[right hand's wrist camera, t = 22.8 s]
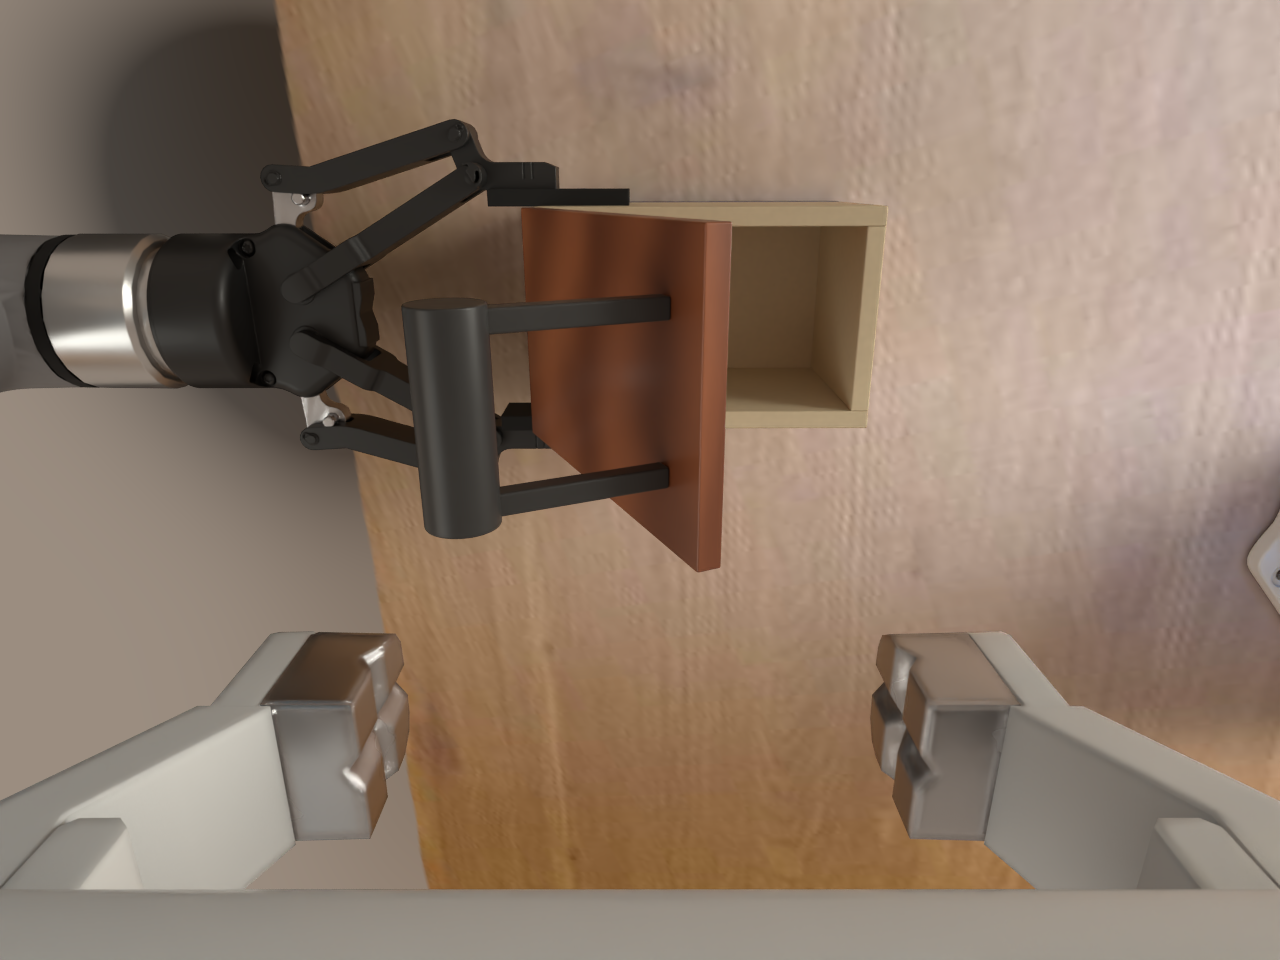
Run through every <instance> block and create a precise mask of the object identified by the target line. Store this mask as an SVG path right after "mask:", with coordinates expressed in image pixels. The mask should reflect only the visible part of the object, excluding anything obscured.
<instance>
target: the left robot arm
mask: <svg viewBox="0 0 1280 960" xmlns="http://www.w3.org/2000/svg"><path fill="white" fill-rule="evenodd" d="M449 156H452V157H453V160H454V162H455V165H456V167H457V169H456V170H455V171H453V172H452V173H450V174H449V175H447V176H446V177H444V178H443V179H441V180H439V181H438V182H436V183H435V184H433V185H432V186H430V187H429V188H427V189H426V190H424V191H423V192H421V193H420V194H418V195H417V196H415V197H414V198H412V199H411V200H409V201H408V202H406V203H405V204H403V205H402V206H400V207H398V208H397V209H395V210H394V211H392V212H391V213H389V214H388V215H386V216H385V217H383V218H382V219H380V220H379V221H377V222H376V223H374V224H373V225H371V226H370V227H368V228H367V229H365V230H364V231H362V232H361V233H359V234H357V235H356V236H354V237H352V238H350V239H348V240H346V241H344V242H343V243H341V244H340V245H338V246H337V247H335V246H334V245H332V244H331V243H329V242H328V241H326V240H325V239H323V238H322V237H320V236H319V235H317V234H316V233H315V232H313V231H312V230H310V229H309V228H307V227H306V226H304V225H303V220H304V217H305V215H306V214H307V213H309V212H311V211H315V210H318V209H319V208H320V207H321V206H322V204H323V194H330V193H338V192H342V191H346V190H349V189H352V188H356V187H359V186H362V185H365V184H368V183H371V182H374V181H377V180H380V179H383V178H386V177H389V176H392V175H395V174H398V173H401V172H404V171H407V170H410V169H413V168H416V167H419V166H422V165H425V164H428V163H431V162H434V161H437V160H440V159H443V158H446V157H449ZM260 178H261V181H262V184H263V185H264V187H265V188H266V189H268V190H269V191H272V196H273V207H274V218H275V225H273V226H271V227H270V228H268V229H267V230H265V231H263V232H261V233H255V234H178V235H175V236H173V237H168V236H166V235H164V234H77V235H61V236H41V235H0V392H4V391H9V390H16V389H27V388H63V387H107V388H181V387H185V386H187V385H190V386H193V387H197V388H280V389H284V390H286V391H289V392H291V393H293V394H295V395H297V396H300V397H301V400H302V405H303V410H304V415H305V419H306V424H307V428H306V429H304V430H303V431H302V432H301V435H300V440H301V442H302V444H303V445H304V446H305V447H306V448H308V449H310V450H323V449H340V448H348V449H351V450H355V451H359V452H362V453H366V454H370V455H373V456H377V457H381V458H384V459H388V460H392V461H396V462H399V463H403V464H407V465H410V466H414V467H418V461H417V451H416V442H415V432H414V427H411V426H407V425H403V424H400V423H396V422H393V421H389V420H385V419H382V418H378V417H375V416H370V415H365V414H351V412H350V410H349V408H348V407H347V406H346V405H344V404H342V403H337V402H334V401H332V400H331V399H330V398H329V397H328V395H327V393H326V390H327V389H329V388H330V387H331V386H333V385H334V384H335V383H336V382H338V381H339V380H340V379H341V378H344V379H345V380H347V381H349V382H351V383H353V384H355V385H357V386H359V387H360V388H363V389H365V390H370V391H375V392H377V393H379V394H381V395H383V396H385V397H387V398H389V399H391V400H392V401H394V402H396V403H398V404H400V405H402V406H404V407H406V408H407V409H409V410H411V411H412V403H411V394H410V384H409V375H408V366H407V365H405V364H403V363H401V362H400V361H398V360H397V358H396V357H395V356H394V355H393V354H391V353H389V352H387V351H386V350H384V349H382V348H380V347H378V346H376V341H378V340H380V338H379V329H378V323H377V321H376V318H375V315H374V313H373V310H372V307H373V300H374V285H373V278H369V277H368V274H367V273H366V271H365V269H366V268H368V267H369V266H371V265H372V264H374V263H376V262H377V261H379V260H380V259H382V258H383V257H384V256H386V254H388V253H389V252H391V251H392V250H394V249H395V248H397V247H398V246H400V245H402V244H403V243H405V242H406V241H408V240H409V239H411V238H412V237H414V236H415V235H417V234H419V233H420V232H422V231H423V230H425V229H426V228H428V227H429V226H431V225H432V224H434V223H435V222H437V221H439V220H440V219H442V218H443V217H445V216H446V215H448V214H449V213H451V212H452V211H454V210H456V209H457V208H459V207H460V206H462V205H463V204H465V203H466V202H468V201H469V200H471V199H473V198H474V197H476V196H477V195H479V194H480V193H482V192H483V191H485V190H487V198H488V206H629V204H630V200H629V189H559V167H556V166H554V165H551V164H549V163H546V162H492V161H491V160H489V159H488V158H487V157H486V156H485V154H484V152H483V150H482V148H481V145H480V143H479V140H478V135H477V132H476V130H475V128H474V127H473V126H472V125H470V124H467V123H465V122H462V121H459V120H456V119H452V120H447V121H444V122H441V123H438V124H435V125H433V126H430V127H427V128H424V129H421V130H418V131H415V132H412V133H409V134H406V135H403V136H400V137H397V138H394V139H391V140H388V141H385V142H382V143H379V144H376V145H373V146H370V147H367V148H364V149H361V150H358V151H355V152H352V153H349V154H346V155H343V156H340V157H337V158H334V159H331V160H328V161H325V162H322V163H319V164H316V165H313V166H310V167H306V166H290V165H273V164H272V165H267V166H265V167H264V168H263V170H262V171H261V177H260ZM495 425H496V439H497V454H498V462H499V457H500V454H501V452H502V451H504V450H506V449H536V448H538V449H544V448H546V449H552V448H550V447H549V446H548V445H547V444H546V443H545V442H543V441H542V440H541V439H540V438H539V437H537V436H536V435H535V434H534V433H533V429H532V410H531V403H509V404H508V406H507V408H506V409H505V411H504V413H503V414H502V416H499V415H497V414H495Z"/></svg>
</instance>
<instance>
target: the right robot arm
mask: <svg viewBox="0 0 1280 960" xmlns="http://www.w3.org/2000/svg"><path fill="white" fill-rule="evenodd" d="M1247 566H1248V568H1249V570H1250V572H1251V573H1252V575H1253V576H1254V578H1255V579H1256V581H1257V582H1258V584H1259V585H1260V587H1261V588H1262V589H1263V591H1264V592H1265V594H1266V595H1267V597H1268V598H1269V600H1270V601H1271V603H1272V604H1273V606H1274V607H1275V609H1276V610H1277V612H1278V613H1279V615H1280V572H1279V573H1278V574H1277V572H1278V571H1279V570H1280V510H1279V512H1278V514H1277V516H1276V518H1275V520H1274V522H1273V523H1272V524H1271V525H1270V527H1269V528H1268V529H1267V530H1266V531H1265V532H1264V534H1263V535H1262V536H1261V537H1260V538H1259V539H1258V541H1257V542H1256V543H1255V545H1254V546H1253V547H1252V549H1251V551H1250V552H1249V554H1248V557H1247ZM403 666H404V660H403V654H402V647H401V641H400V640H399V638H398V637H397V635H396V634H387V633H334V632H318V633H315V632H278V633H273V634H270V635H269V636H268V638H267V639H266V640H265V641H264V642H263V644H262V645H261V646H260V647H259V648H258V650H257V651H256V652H255V653H254V654H253V656H252V657H251V658H250V659H249V660H248V661H247V663H246V664H245V665H244V666H243V667H242V669H241V670H240V671H239V672H238V673H237V675H236V676H235V677H234V678H233V679H232V681H231V682H230V683H229V684H228V685H227V687H226V688H225V689H224V690H223V691H222V693H221V694H220V695H219V696H218V697H217V699H216V700H215V701H214V702H213V703H212V705H211V706H196V707H194V708H192V709H190V710H188V711H186V712H184V713H182V714H180V715H178V716H176V717H174V718H171V719H169V720H167V721H165V722H163V723H161V724H159V725H157V726H155V727H153V728H151V729H149V730H147V731H144V732H142V733H140V734H138V735H136V736H134V737H132V738H130V739H128V740H126V741H124V742H122V743H119V744H117V745H115V746H113V747H111V748H109V749H107V750H105V751H103V752H101V753H99V754H97V755H95V756H92V757H90V758H88V759H86V760H84V761H82V762H80V763H78V764H76V765H74V766H72V767H70V768H67V769H65V770H63V771H61V772H59V773H57V774H55V775H53V776H51V777H49V778H47V779H45V780H43V781H41V782H39V783H36V784H34V785H32V786H30V787H28V788H26V789H24V790H22V791H20V792H18V793H15V794H14V795H11V796H9V797H7V798H5V799H3V800H1V801H0V960H1280V801H1279V800H1276V799H1274V798H1272V797H1270V796H1268V795H1266V794H1264V793H1262V792H1260V791H1258V790H1256V789H1254V788H1252V787H1250V786H1247V785H1245V784H1243V783H1241V782H1239V781H1237V780H1235V779H1233V778H1231V777H1229V776H1227V775H1225V774H1223V773H1220V772H1218V771H1216V770H1214V769H1212V768H1210V767H1208V766H1206V765H1204V764H1202V763H1200V762H1198V761H1196V760H1194V759H1191V758H1189V757H1187V756H1185V755H1183V754H1181V753H1179V752H1177V751H1175V750H1173V749H1171V748H1169V747H1167V746H1165V745H1162V744H1160V743H1158V742H1156V741H1154V740H1152V739H1150V738H1148V737H1146V736H1144V735H1142V734H1140V733H1138V732H1136V731H1133V730H1131V729H1129V728H1127V727H1125V726H1123V725H1121V724H1119V723H1117V722H1115V721H1113V720H1111V719H1109V718H1106V717H1104V716H1102V715H1100V714H1098V713H1096V712H1094V711H1092V710H1090V709H1088V708H1086V707H1084V706H1069V704H1068V703H1067V702H1066V701H1065V700H1064V699H1063V697H1062V696H1061V695H1060V694H1059V693H1058V691H1057V690H1056V689H1055V688H1054V687H1053V685H1052V684H1051V683H1050V682H1049V681H1048V679H1047V678H1046V677H1045V676H1044V675H1043V673H1042V672H1041V671H1040V670H1039V669H1038V668H1037V666H1036V665H1035V664H1034V663H1033V662H1032V660H1031V659H1030V658H1029V657H1028V656H1027V654H1026V653H1025V652H1024V651H1023V650H1022V648H1021V647H1020V646H1019V645H1018V644H1017V642H1016V641H1015V640H1014V639H1013V638H1012V637H1011V635H1009V634H1007V633H1004V632H1002V631H995V632H970V633H927V634H889V635H882V637H881V640H880V643H879V646H878V652H877V660H876V666H877V668H878V670H879V672H880V674H881V676H882V678H883V680H884V683H883V684H882V685H881V686H880V687H879V688H878V689H877V690H876V691H875V692H874V694H873V695H872V704H871V716H870V720H871V735H872V743H873V747H874V751H875V755H876V758H877V761H878V763H879V766H880V768H881V771H883V772H884V773H885V774H887V775H888V776H890V777H891V778H892V779H894V787H893V795H892V797H893V800H894V802H895V805H896V807H897V809H898V812H899V814H900V816H901V819H902V821H903V823H904V826H905V828H906V830H907V833H908V835H909V838H910V839H937V840H973V841H985V842H984V844H985V845H986V846H987V847H988V848H989V849H990V850H991V851H993V852H994V853H995V854H996V855H997V856H998V857H1000V858H1001V859H1002V860H1003V861H1004V862H1005V863H1007V864H1008V865H1009V866H1010V867H1011V868H1012V869H1014V870H1015V871H1016V872H1017V873H1018V874H1019V875H1021V876H1022V877H1023V878H1024V879H1025V880H1026V881H1028V882H1029V883H1030V884H1031V885H1032V886H1033V887H1034V888H1036V889H245V888H246V887H247V886H248V885H249V884H250V883H252V882H253V881H254V880H255V879H256V878H258V877H259V876H260V875H261V874H262V873H263V872H264V871H266V870H267V869H268V868H269V867H270V866H271V865H273V864H274V863H275V862H276V861H277V860H278V859H280V858H281V857H282V856H283V855H284V854H285V853H287V852H288V851H289V850H290V849H291V848H292V847H294V846H295V844H296V843H295V841H307V840H342V839H370V838H371V835H372V833H373V831H374V828H375V826H376V823H377V821H378V819H379V817H380V814H381V812H382V809H383V807H384V804H385V802H386V800H387V797H388V795H387V787H386V779H388V778H389V777H390V776H392V775H393V774H394V773H396V772H397V771H399V768H400V766H401V763H402V761H403V758H404V755H405V752H406V746H407V741H408V735H409V702H408V695H407V694H406V692H405V691H404V690H403V689H402V688H401V687H400V686H399V685H398V684H397V683H396V680H397V678H398V676H399V674H400V672H401V670H402V668H403Z"/></svg>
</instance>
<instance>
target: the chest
mask: <svg viewBox="0 0 1280 960" xmlns="http://www.w3.org/2000/svg"><path fill="white" fill-rule="evenodd" d="M536 207H540V208H554V209H567V210H581V211H595V212H609V213H622V214H636V215H650V216H664V217H677V218H691V219H705V220H719V221H730V222H732V247H731V275H730V304H729V333H728V361H727V390H726V419H725V428H866V427H867V418H868V406H869V396H870V386H871V376H872V366H873V356H874V345H875V335H876V325H877V315H878V305H879V294H880V284H881V274H882V264H883V254H884V243H885V233H886V224H887V214H888V206H882V205H870V204H859V203H847V202H838V201H709V202H630V204H629V206H536Z"/></svg>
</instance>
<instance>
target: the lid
mask: <svg viewBox="0 0 1280 960" xmlns="http://www.w3.org/2000/svg"><path fill="white" fill-rule="evenodd" d="M521 216H522V235H523V255H524V274H525V293H526V302H524V303H508V304H492V305H487V302H486V301H483V300H480V299H472V298H434V299H423V300H415V301H410V302H407V303H404V304H403V305H402V307H401V308H402V317H403V327H404V337H405V346H406V356H407V365H408V375H409V384H410V394H411V403H412V413H413V423H414V432H415V442H416V451H417V461H418V470H419V480H420V489H421V499H422V508H423V518H424V527H425V529H426V531H427V532H428V533H429V534H431V535H433V536H436V537H440V538H446V539H465V538H472V537H477V536H481V535H484V534H487V533H490V532H492V531H494V530H495V529H497V528H498V527H499V526H500V524H501V522H502V516H507V515H512V514H518V513H524V512H530V511H536V510H542V509H548V508H554V507H559V506H565V505H571V504H577V503H583V502H589V501H595V500H600V499H606V498H610V499H612V500H613V501H614V502H615V503H616V504H617V505H619V506H620V507H621V508H622V509H623V510H624V511H626V512H627V513H628V514H629V515H630V516H632V517H633V518H634V519H635V520H636V521H637V522H639V523H640V524H641V525H642V526H643V527H644V528H646V529H647V530H648V531H649V532H650V533H652V534H653V535H654V536H655V537H656V538H657V539H659V540H660V541H661V542H662V543H663V544H664V545H666V546H667V547H668V548H669V549H670V550H671V551H673V552H674V553H675V554H676V555H677V556H679V557H680V558H681V559H682V560H683V561H684V562H686V563H687V564H688V565H689V566H690V567H691V568H693V569H694V570H695V571H696V572H702V571H707V570H711V569H716V568H720V562H721V534H722V505H723V476H724V448H725V419H726V390H727V361H728V333H729V304H730V275H731V247H732V222H730V221H719V220H705V219H691V218H677V217H664V216H650V215H636V214H622V213H609V212H595V211H581V210H567V209H554V208H540V207H531V208H521ZM516 332H528V352H529V371H530V390H531V410H532V429H533V433H534V434H535V435H536V436H537V437H539V438H540V439H541V440H542V441H543V442H545V443H546V444H547V445H548V446H549V447H550V448H552V449H553V450H554V451H555V452H556V453H557V454H559V455H560V456H561V457H562V458H563V459H565V460H566V461H567V462H568V463H569V464H570V465H572V466H573V467H574V468H575V469H576V470H577V471H579V472H580V473H581V474H579V475H573V476H566V477H560V478H554V479H547V480H541V481H534V482H528V483H521V484H515V485H509V486H502V487H500V483H499V469H498V454H497V439H496V425H495V410H494V395H493V380H492V366H491V351H490V336H489V335H490V334H503V333H516Z"/></svg>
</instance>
